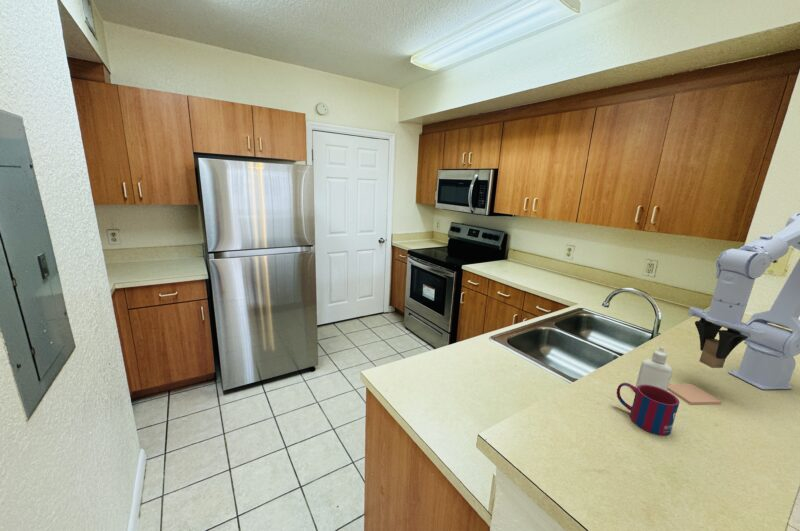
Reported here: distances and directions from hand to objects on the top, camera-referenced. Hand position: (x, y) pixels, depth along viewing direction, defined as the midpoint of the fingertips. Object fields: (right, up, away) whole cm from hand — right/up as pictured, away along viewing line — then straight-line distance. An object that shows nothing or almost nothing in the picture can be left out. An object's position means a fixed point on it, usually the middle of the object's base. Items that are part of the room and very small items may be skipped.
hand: (712, 354), depth 78 cm
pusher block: (0, -3, +1) cm, 3 cm away
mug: (-25, -11, -11) cm, 30 cm away
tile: (-2, -9, -1) cm, 10 cm away
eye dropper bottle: (-17, -9, -2) cm, 19 cm away
